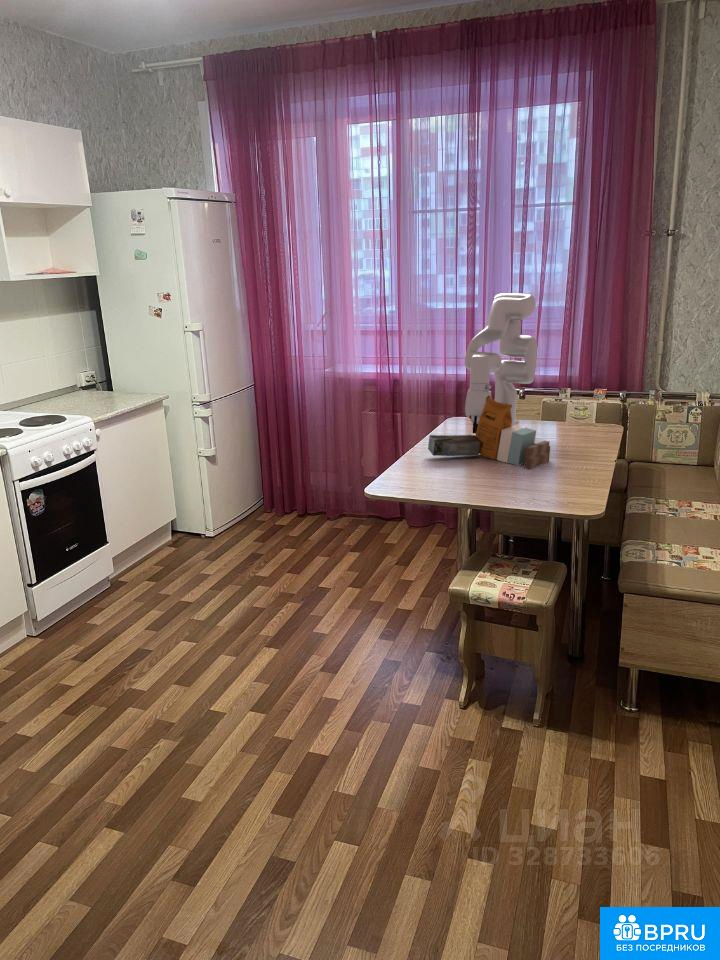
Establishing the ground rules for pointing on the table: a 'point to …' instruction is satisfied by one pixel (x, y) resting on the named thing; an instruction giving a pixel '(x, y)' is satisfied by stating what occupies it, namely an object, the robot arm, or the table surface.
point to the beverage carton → (454, 445)
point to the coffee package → (492, 426)
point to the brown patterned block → (537, 454)
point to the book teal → (520, 445)
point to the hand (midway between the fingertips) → (476, 432)
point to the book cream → (506, 443)
